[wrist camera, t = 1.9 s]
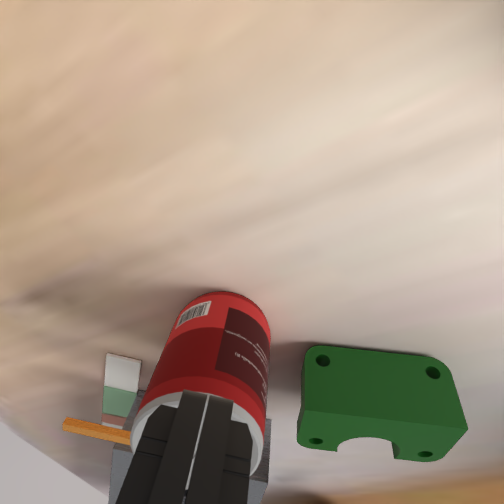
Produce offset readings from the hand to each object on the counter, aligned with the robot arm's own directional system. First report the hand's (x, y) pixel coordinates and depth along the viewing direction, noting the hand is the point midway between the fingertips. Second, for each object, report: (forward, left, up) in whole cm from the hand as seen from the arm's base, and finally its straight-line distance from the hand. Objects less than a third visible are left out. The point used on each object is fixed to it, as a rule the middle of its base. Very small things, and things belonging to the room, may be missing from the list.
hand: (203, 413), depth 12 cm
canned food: (0, +11, -18) cm, 21 cm away
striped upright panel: (+8, +22, -18) cm, 29 cm away
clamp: (-13, +13, -18) cm, 25 cm away
